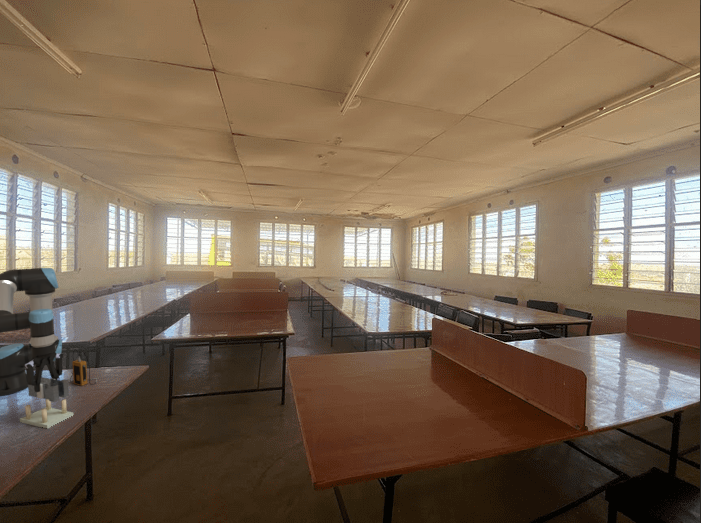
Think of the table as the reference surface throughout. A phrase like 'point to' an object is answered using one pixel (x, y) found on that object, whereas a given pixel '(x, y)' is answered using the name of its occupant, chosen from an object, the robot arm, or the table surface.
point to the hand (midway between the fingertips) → (47, 395)
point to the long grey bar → (51, 389)
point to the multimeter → (80, 371)
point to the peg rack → (46, 415)
